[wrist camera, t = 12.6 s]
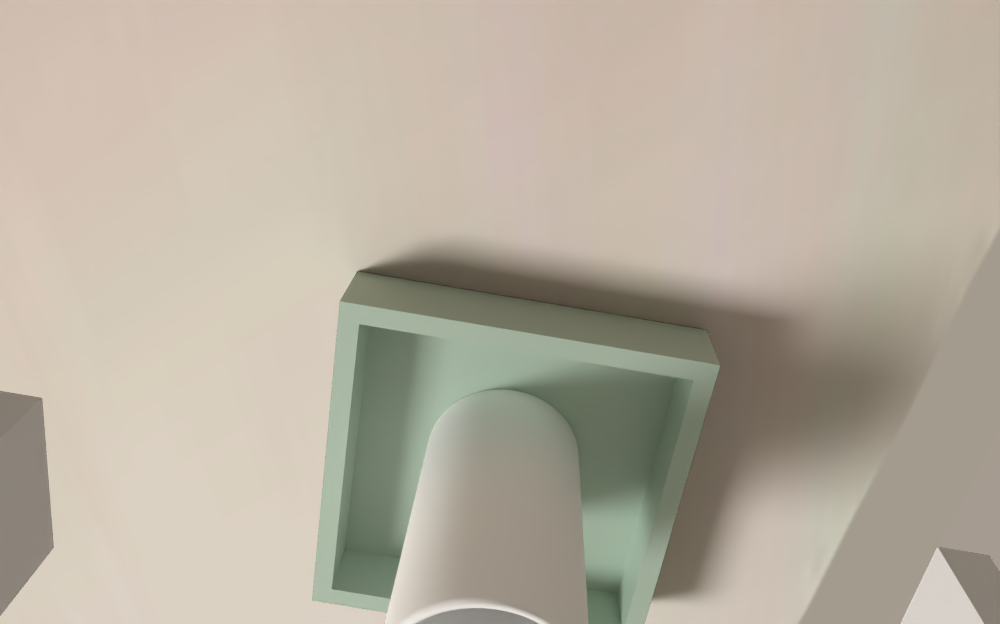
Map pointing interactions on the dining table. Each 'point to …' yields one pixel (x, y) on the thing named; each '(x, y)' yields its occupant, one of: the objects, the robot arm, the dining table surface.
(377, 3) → the dining table surface
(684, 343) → the bin
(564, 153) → the dining table surface
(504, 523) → the cup
